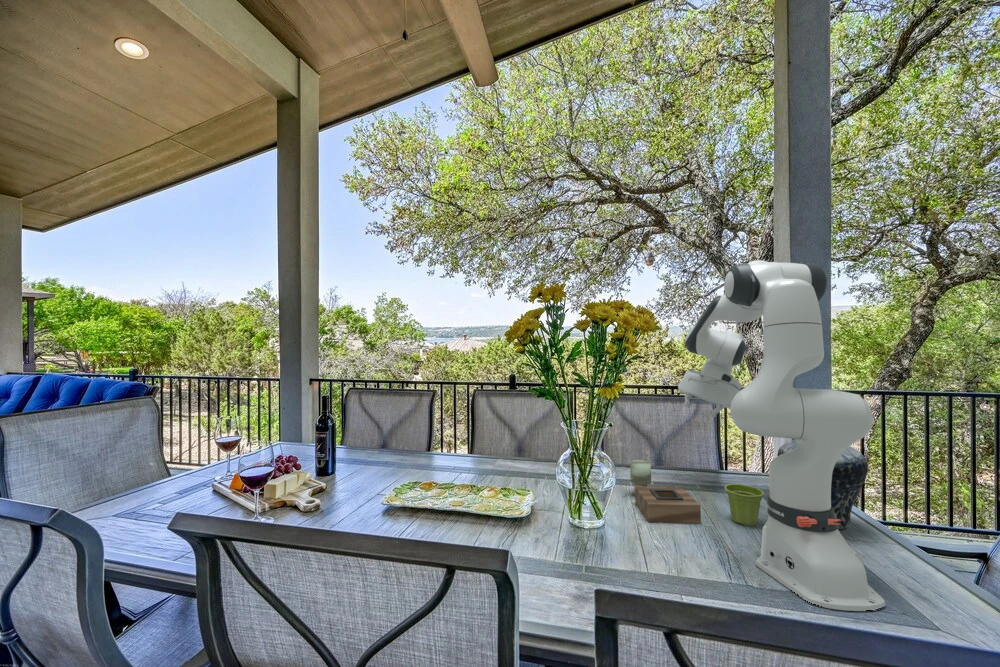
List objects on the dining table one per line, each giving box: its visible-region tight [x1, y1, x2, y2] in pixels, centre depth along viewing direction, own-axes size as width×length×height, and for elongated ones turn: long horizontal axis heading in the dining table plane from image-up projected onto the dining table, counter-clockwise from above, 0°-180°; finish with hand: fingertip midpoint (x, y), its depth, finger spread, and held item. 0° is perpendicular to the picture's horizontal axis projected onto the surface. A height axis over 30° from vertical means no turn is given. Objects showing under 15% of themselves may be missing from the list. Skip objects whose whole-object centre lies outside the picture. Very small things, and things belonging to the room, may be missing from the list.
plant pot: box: [724, 483, 765, 526], centre depth 116 cm, size 9×9×9 cm
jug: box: [776, 438, 869, 530], centre depth 115 cm, size 21×19×30 cm
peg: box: [629, 459, 652, 492], centre depth 137 cm, size 6×6×10 cm
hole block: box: [634, 486, 702, 524], centre depth 122 cm, size 14×14×5 cm
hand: (698, 411), depth 146 cm, fingers open, 8 cm apart
